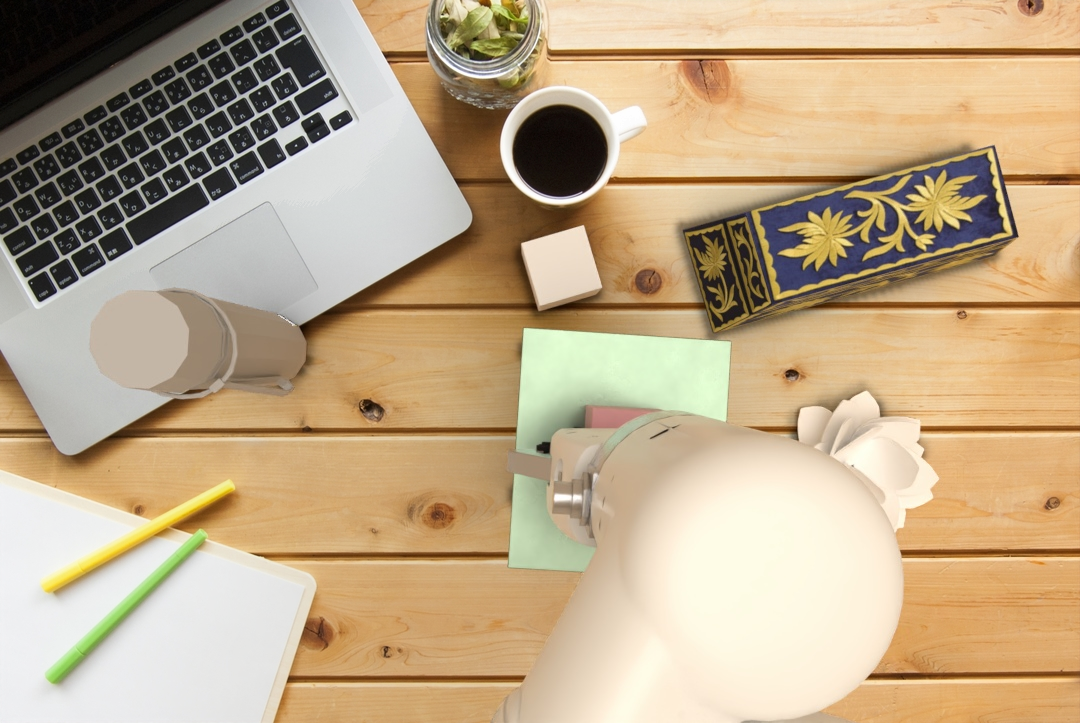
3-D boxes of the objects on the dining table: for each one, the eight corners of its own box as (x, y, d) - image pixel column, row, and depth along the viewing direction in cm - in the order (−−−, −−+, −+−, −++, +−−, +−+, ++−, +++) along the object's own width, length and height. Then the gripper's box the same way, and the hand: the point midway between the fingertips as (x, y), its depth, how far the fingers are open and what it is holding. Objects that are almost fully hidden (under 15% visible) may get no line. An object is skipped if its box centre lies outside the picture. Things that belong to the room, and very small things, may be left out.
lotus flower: (767, 398, 73) (811, 397, 64) (905, 387, 75) (966, 384, 66) (780, 543, 72) (827, 562, 63) (920, 528, 74) (983, 544, 65)
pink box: (655, 499, 49) (669, 513, 44) (580, 494, 49) (586, 508, 44) (660, 409, 49) (676, 413, 44) (586, 404, 49) (592, 408, 44)
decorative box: (682, 230, 73) (704, 210, 64) (968, 152, 74) (1029, 122, 65) (711, 334, 73) (737, 328, 64) (997, 255, 74) (1062, 239, 65)
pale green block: (654, 512, 73) (717, 580, 49) (513, 503, 72) (507, 568, 48) (664, 351, 73) (732, 340, 49) (524, 342, 73) (523, 327, 49)
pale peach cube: (538, 311, 73) (539, 306, 67) (521, 254, 73) (520, 243, 67) (596, 294, 73) (602, 287, 67) (579, 237, 73) (583, 224, 67)
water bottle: (218, 348, 72) (55, 335, 47) (278, 295, 72) (148, 254, 47) (280, 418, 72) (150, 442, 47) (340, 365, 72) (242, 361, 47)
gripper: (464, 581, 30) (488, 502, 48) (876, 605, 30) (745, 518, 48) (476, 399, 30) (495, 388, 48) (886, 425, 30) (752, 404, 49)
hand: (621, 453), depth 48 cm, fingers open, 5 cm apart
